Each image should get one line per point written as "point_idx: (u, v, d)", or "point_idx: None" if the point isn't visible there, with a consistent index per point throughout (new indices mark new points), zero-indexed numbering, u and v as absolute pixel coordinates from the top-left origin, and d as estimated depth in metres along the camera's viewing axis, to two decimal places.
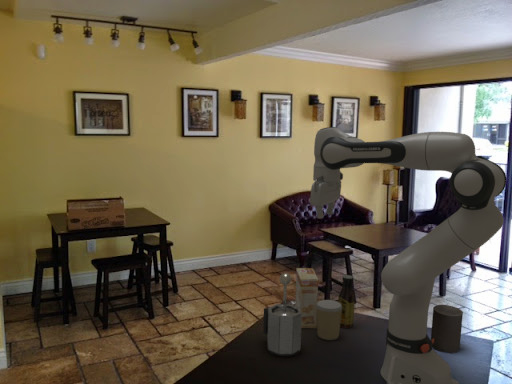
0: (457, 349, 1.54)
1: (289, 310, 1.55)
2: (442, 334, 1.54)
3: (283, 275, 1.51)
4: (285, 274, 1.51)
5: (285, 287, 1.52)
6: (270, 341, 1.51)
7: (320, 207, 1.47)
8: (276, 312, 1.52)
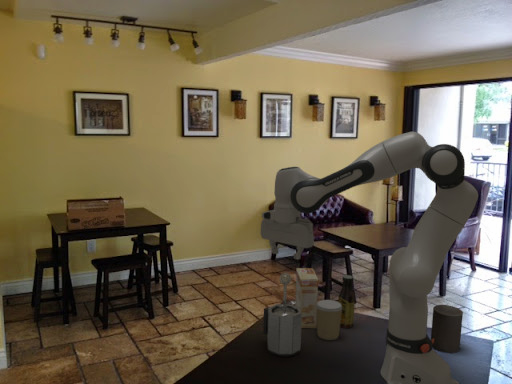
0: (457, 349, 1.54)
1: (289, 310, 1.55)
2: (442, 334, 1.54)
3: (283, 275, 1.51)
4: (285, 274, 1.51)
5: (285, 287, 1.52)
6: (270, 341, 1.51)
7: (303, 247, 1.46)
8: (276, 312, 1.52)
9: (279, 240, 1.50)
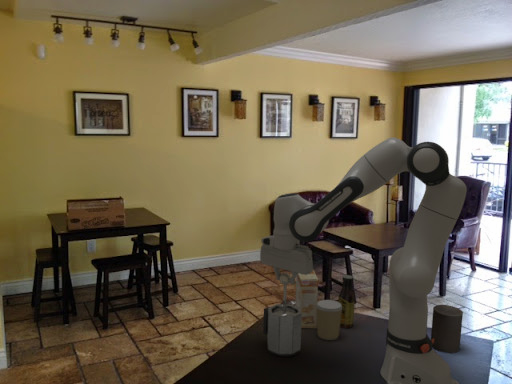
0: (457, 349, 1.54)
1: (289, 310, 1.55)
2: (442, 334, 1.54)
3: (283, 275, 1.51)
4: (285, 274, 1.51)
5: (285, 287, 1.52)
6: (270, 341, 1.51)
7: (297, 272, 1.49)
8: (276, 313, 1.52)
9: (278, 266, 1.51)
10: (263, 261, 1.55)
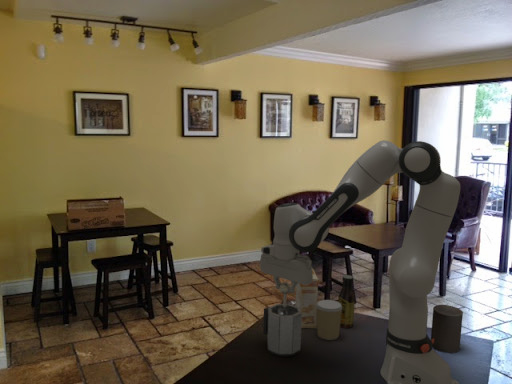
0: (457, 349, 1.54)
1: None
2: (442, 334, 1.54)
3: (283, 284, 1.51)
4: (285, 283, 1.51)
5: (285, 296, 1.52)
6: (270, 341, 1.51)
7: (297, 282, 1.49)
8: None
9: (278, 275, 1.51)
10: (263, 270, 1.56)
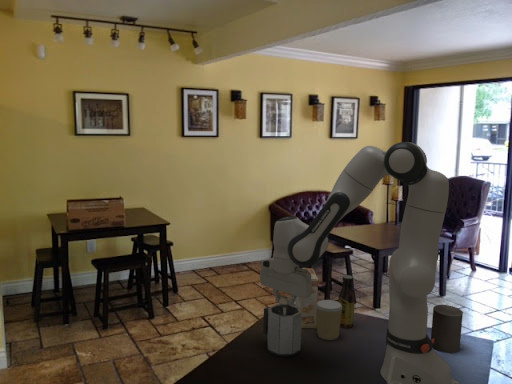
0: (457, 349, 1.54)
1: None
2: (442, 334, 1.54)
3: (282, 297, 1.52)
4: (284, 296, 1.52)
5: (284, 309, 1.53)
6: (270, 341, 1.51)
7: (296, 295, 1.50)
8: None
9: (278, 288, 1.52)
10: (263, 283, 1.56)
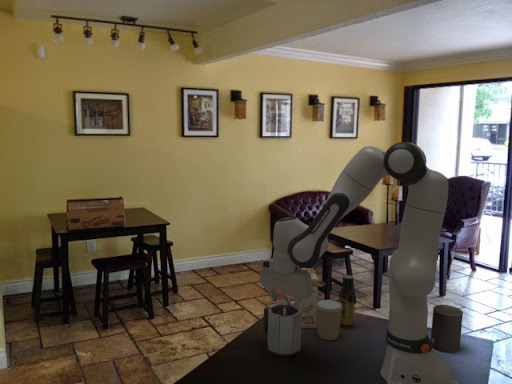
0: (457, 349, 1.54)
1: None
2: (442, 334, 1.54)
3: (282, 298, 1.52)
4: (284, 297, 1.52)
5: (284, 310, 1.53)
6: (270, 341, 1.51)
7: (301, 297, 1.48)
8: None
9: (278, 289, 1.52)
10: (263, 283, 1.56)
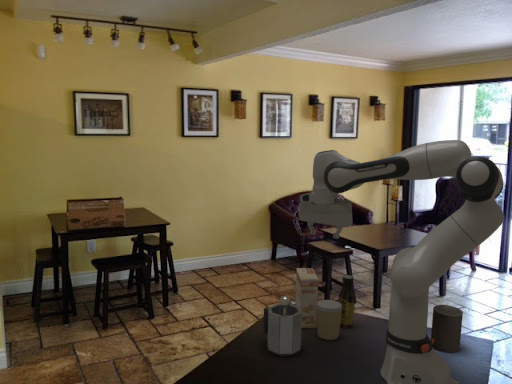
0: (457, 349, 1.54)
1: None
2: (442, 334, 1.54)
3: (282, 298, 1.52)
4: (284, 297, 1.52)
5: (284, 310, 1.53)
6: (270, 341, 1.51)
7: (341, 227, 1.53)
8: None
9: (318, 221, 1.56)
10: (302, 218, 1.61)
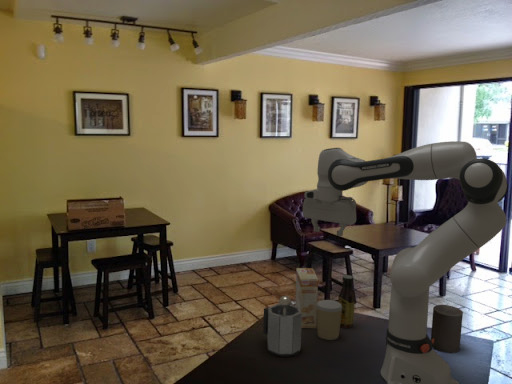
0: (457, 349, 1.54)
1: None
2: (442, 334, 1.54)
3: (282, 298, 1.52)
4: (284, 297, 1.52)
5: (284, 310, 1.53)
6: (270, 341, 1.51)
7: (345, 225, 1.53)
8: None
9: (322, 218, 1.57)
10: (306, 215, 1.61)
